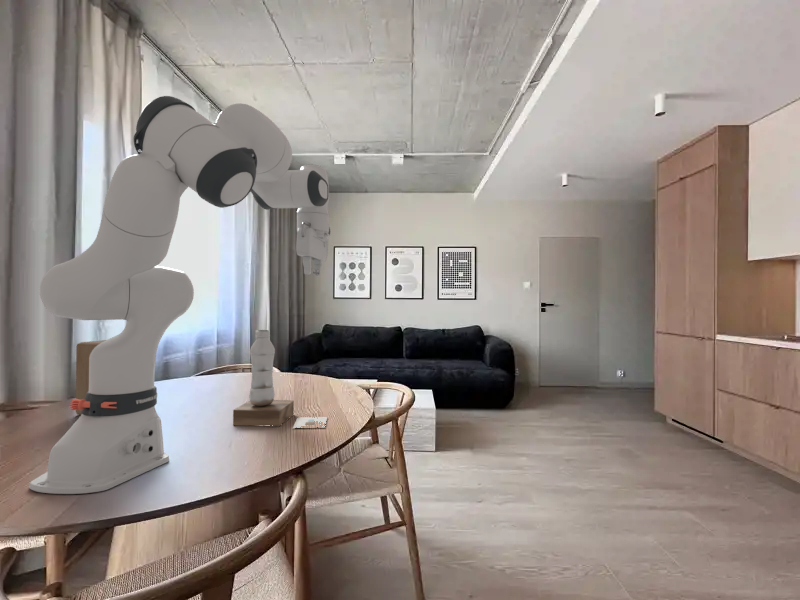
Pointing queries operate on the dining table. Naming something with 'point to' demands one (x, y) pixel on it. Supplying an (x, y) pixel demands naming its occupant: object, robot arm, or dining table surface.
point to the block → (83, 368)
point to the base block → (263, 413)
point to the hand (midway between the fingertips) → (312, 275)
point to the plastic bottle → (262, 369)
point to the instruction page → (308, 421)
